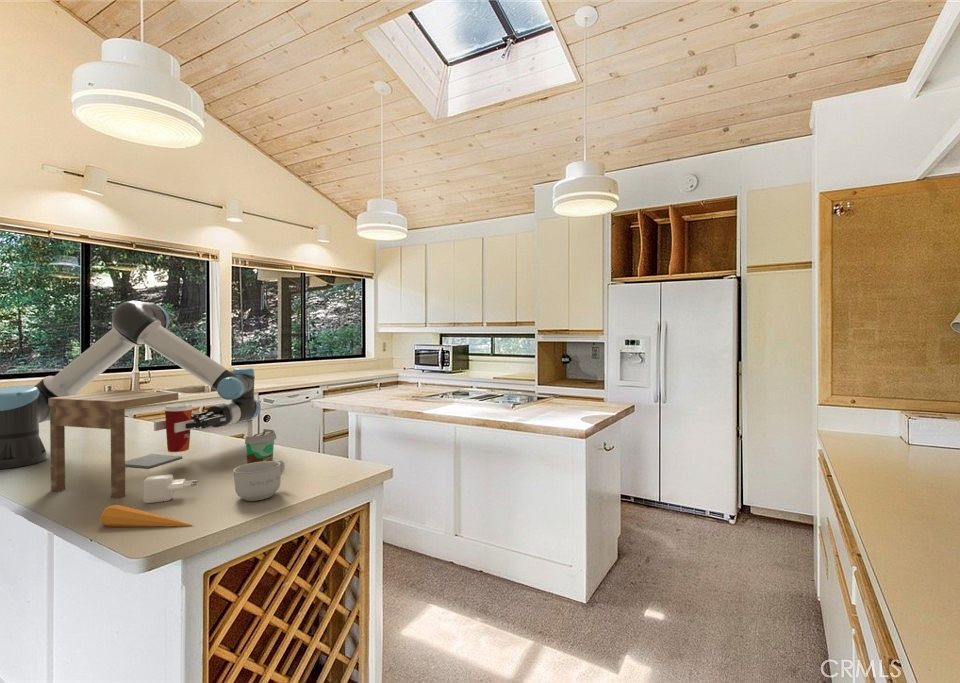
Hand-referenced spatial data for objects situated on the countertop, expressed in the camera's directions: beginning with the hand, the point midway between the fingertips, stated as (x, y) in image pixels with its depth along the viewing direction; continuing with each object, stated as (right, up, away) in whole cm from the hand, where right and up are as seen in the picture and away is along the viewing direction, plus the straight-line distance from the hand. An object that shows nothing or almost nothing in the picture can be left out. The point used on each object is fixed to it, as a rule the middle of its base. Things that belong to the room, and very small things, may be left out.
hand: (165, 427), depth 144 cm
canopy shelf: (-4, -13, -14) cm, 20 cm away
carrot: (+24, -14, -42) cm, 50 cm away
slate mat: (-10, -12, +8) cm, 17 cm away
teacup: (+40, -13, -23) cm, 48 cm away
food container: (+28, -13, +5) cm, 31 cm away
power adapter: (+18, -13, -26) cm, 34 cm away
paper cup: (+1, -8, +5) cm, 10 cm away
